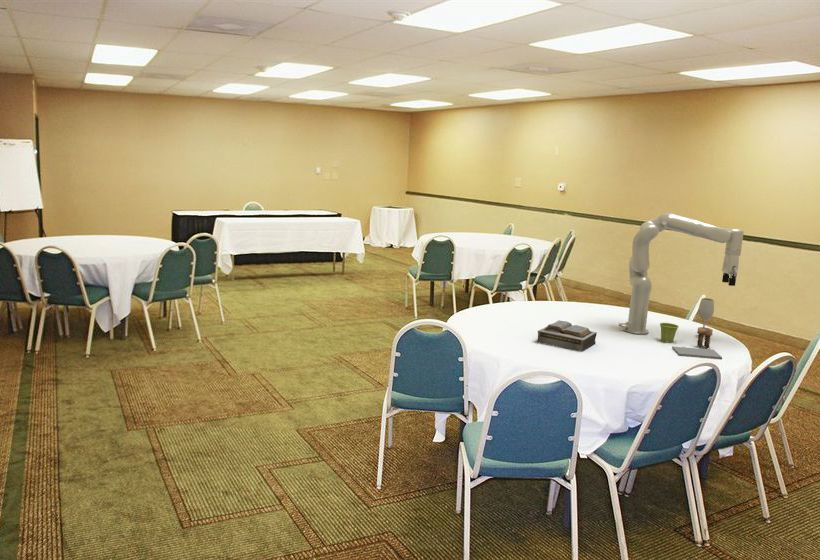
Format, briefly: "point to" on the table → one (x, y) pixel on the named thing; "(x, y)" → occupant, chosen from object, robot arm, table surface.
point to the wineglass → (706, 310)
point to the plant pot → (668, 331)
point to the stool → (707, 333)
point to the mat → (696, 352)
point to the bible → (567, 336)
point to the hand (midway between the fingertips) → (728, 283)
